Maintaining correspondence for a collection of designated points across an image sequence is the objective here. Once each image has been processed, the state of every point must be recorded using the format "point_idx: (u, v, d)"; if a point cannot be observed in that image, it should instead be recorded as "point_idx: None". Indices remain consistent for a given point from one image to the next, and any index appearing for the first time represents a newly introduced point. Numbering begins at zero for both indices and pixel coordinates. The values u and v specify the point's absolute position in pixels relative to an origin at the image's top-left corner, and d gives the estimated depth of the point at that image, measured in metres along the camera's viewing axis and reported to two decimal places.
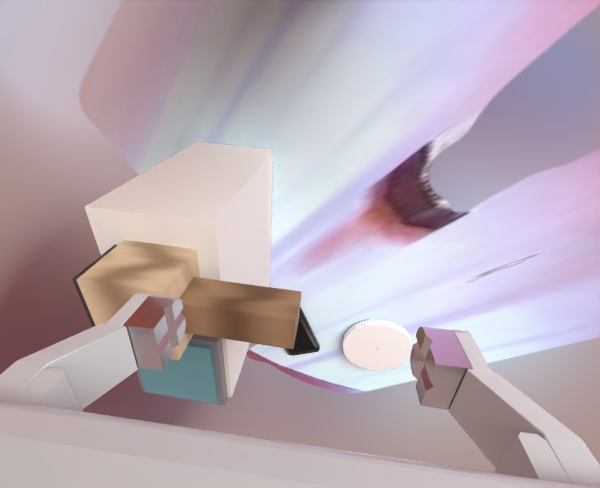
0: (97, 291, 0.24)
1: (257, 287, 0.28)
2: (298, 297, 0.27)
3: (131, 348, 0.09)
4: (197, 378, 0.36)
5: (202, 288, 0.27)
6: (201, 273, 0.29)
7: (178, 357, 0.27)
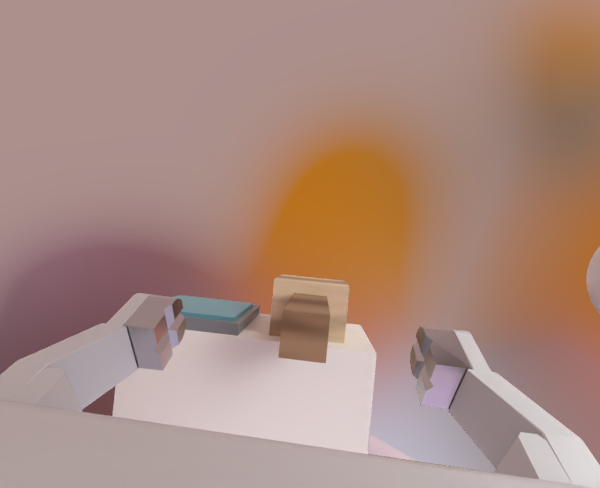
0: (337, 281, 0.38)
1: None
2: (326, 352, 0.23)
3: (131, 348, 0.09)
4: (189, 308, 0.35)
5: None
6: None
7: (277, 279, 0.33)
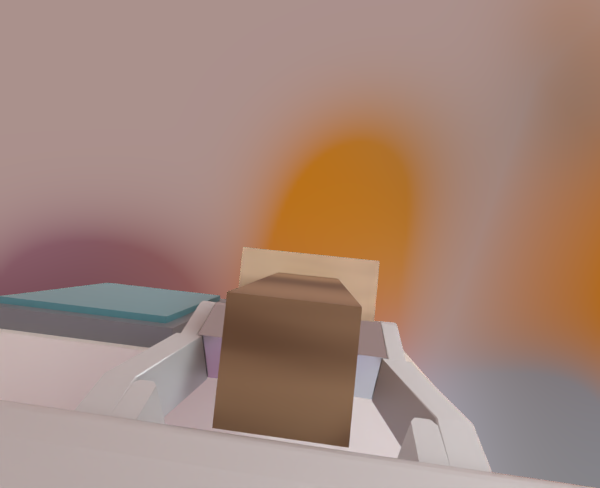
0: None
1: None
2: (350, 413, 0.08)
3: (204, 357, 0.09)
4: (97, 300, 0.20)
5: None
6: None
7: (248, 248, 0.18)
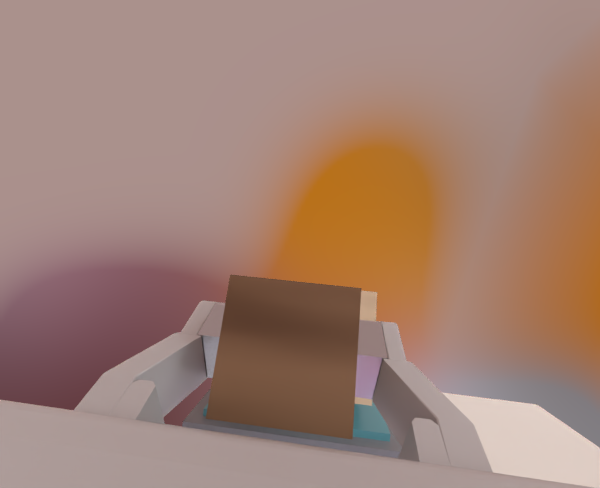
0: None
1: None
2: (353, 401, 0.07)
3: (203, 357, 0.09)
4: None
5: None
6: None
7: None
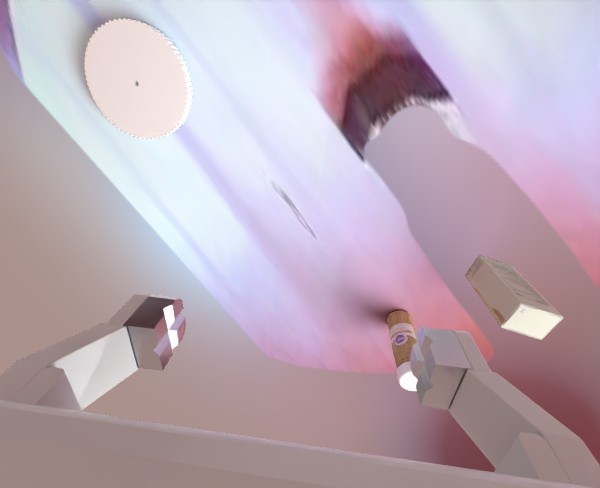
0: None
1: None
2: None
3: (131, 348, 0.09)
4: None
5: None
6: None
7: None
